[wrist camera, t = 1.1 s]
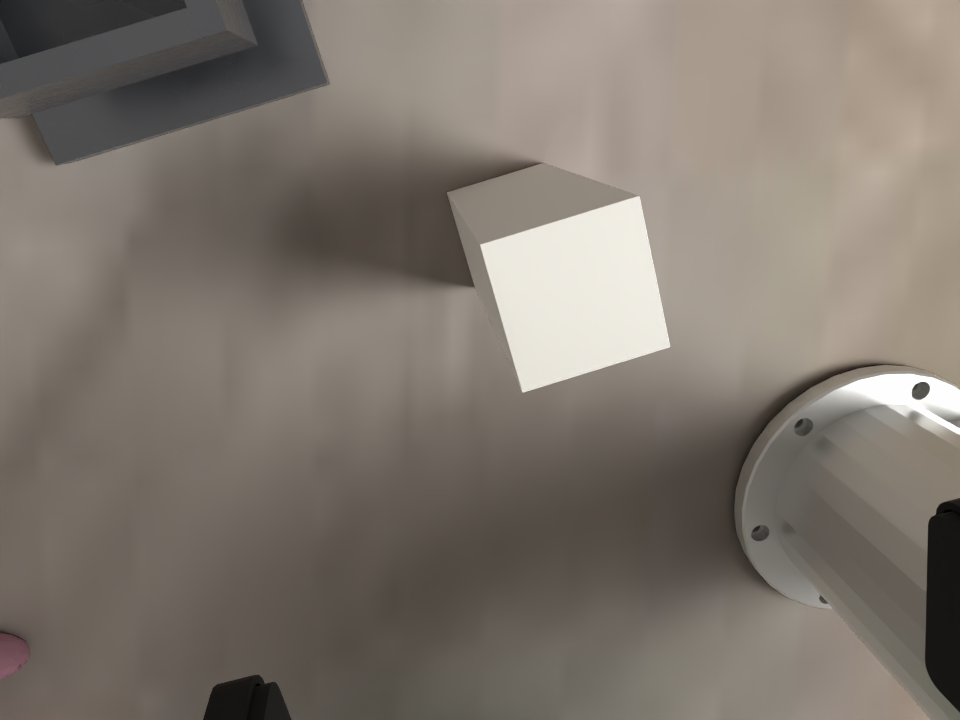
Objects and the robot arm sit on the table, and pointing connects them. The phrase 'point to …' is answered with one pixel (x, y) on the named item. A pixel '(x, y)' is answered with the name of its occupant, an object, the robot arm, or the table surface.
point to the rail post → (560, 271)
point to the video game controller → (12, 654)
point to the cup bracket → (147, 66)
